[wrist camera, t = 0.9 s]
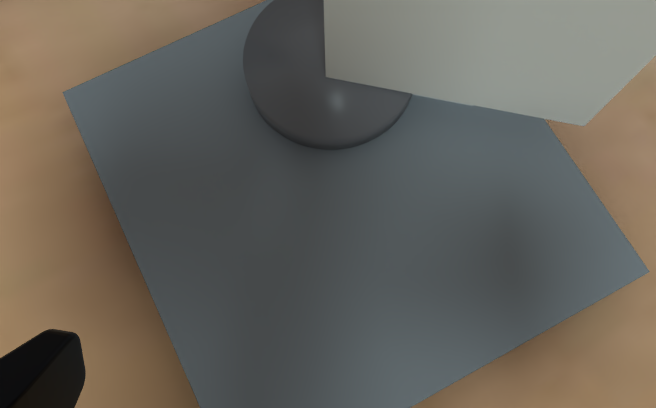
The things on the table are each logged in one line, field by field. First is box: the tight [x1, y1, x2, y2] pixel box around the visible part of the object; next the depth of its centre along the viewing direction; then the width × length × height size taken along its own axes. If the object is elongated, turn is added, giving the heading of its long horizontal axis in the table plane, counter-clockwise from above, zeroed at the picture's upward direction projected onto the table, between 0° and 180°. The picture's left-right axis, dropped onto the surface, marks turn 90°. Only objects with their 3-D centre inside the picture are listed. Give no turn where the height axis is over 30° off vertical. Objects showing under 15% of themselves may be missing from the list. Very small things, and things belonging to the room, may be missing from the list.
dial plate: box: [63, 0, 649, 408], centre depth 23 cm, size 18×17×1 cm
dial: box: [243, 0, 656, 150], centre depth 19 cm, size 14×7×11 cm, turn 78°
